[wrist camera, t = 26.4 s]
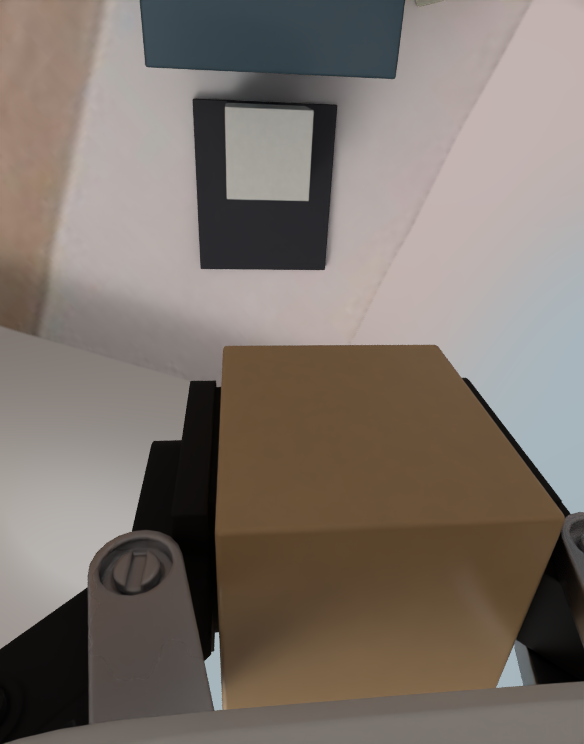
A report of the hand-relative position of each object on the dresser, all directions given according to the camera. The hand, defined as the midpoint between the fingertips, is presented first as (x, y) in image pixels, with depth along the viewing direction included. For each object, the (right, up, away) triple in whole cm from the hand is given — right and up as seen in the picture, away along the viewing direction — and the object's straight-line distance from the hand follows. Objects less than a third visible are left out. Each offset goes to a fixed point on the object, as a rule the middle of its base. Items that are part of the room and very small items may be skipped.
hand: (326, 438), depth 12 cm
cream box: (-3, +18, +26) cm, 31 cm away
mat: (-3, +15, +28) cm, 32 cm away
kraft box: (0, 0, 0) cm, 0 cm away
